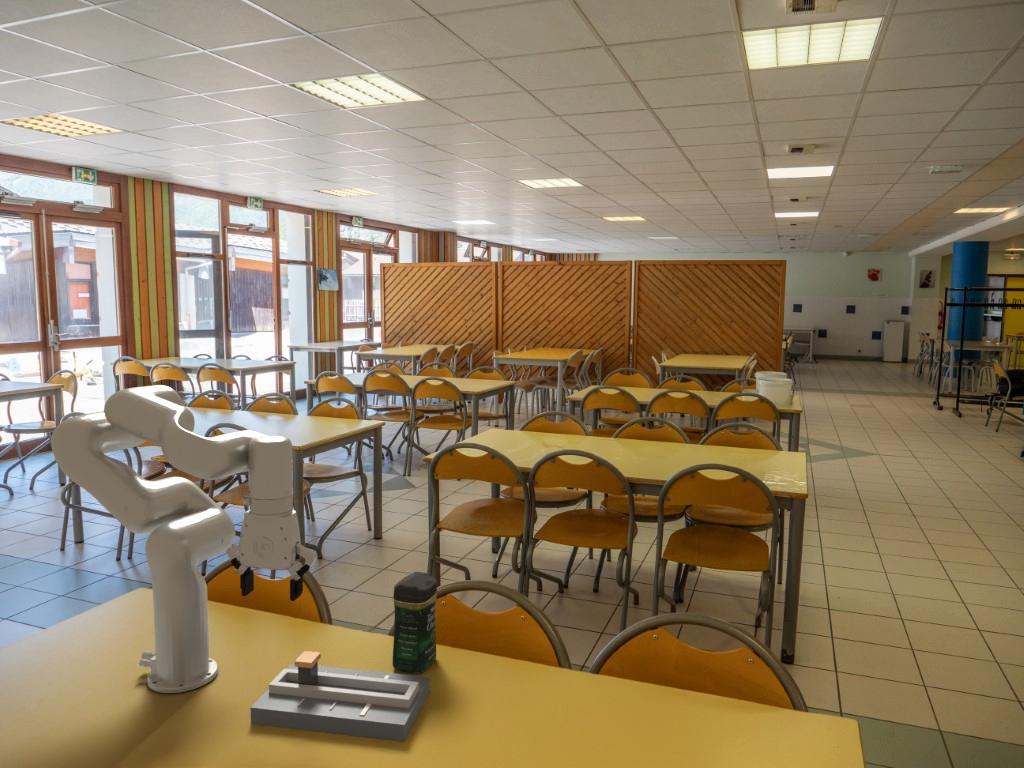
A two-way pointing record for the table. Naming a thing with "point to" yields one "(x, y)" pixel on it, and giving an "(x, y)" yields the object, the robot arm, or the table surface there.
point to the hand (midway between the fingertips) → (271, 595)
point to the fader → (308, 668)
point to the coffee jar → (415, 623)
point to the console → (344, 702)
